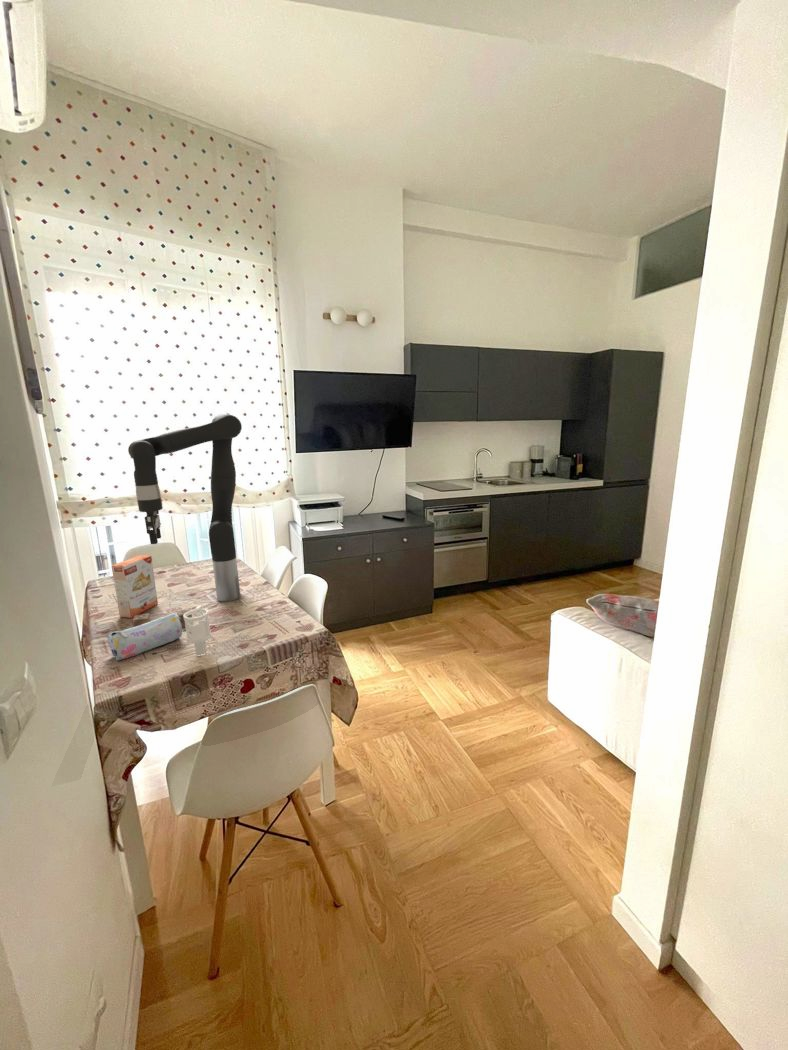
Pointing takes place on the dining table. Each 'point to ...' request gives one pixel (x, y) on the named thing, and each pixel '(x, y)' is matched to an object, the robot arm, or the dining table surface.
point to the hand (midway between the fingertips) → (156, 541)
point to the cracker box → (134, 585)
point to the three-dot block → (141, 619)
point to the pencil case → (145, 636)
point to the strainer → (198, 629)
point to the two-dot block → (180, 614)
